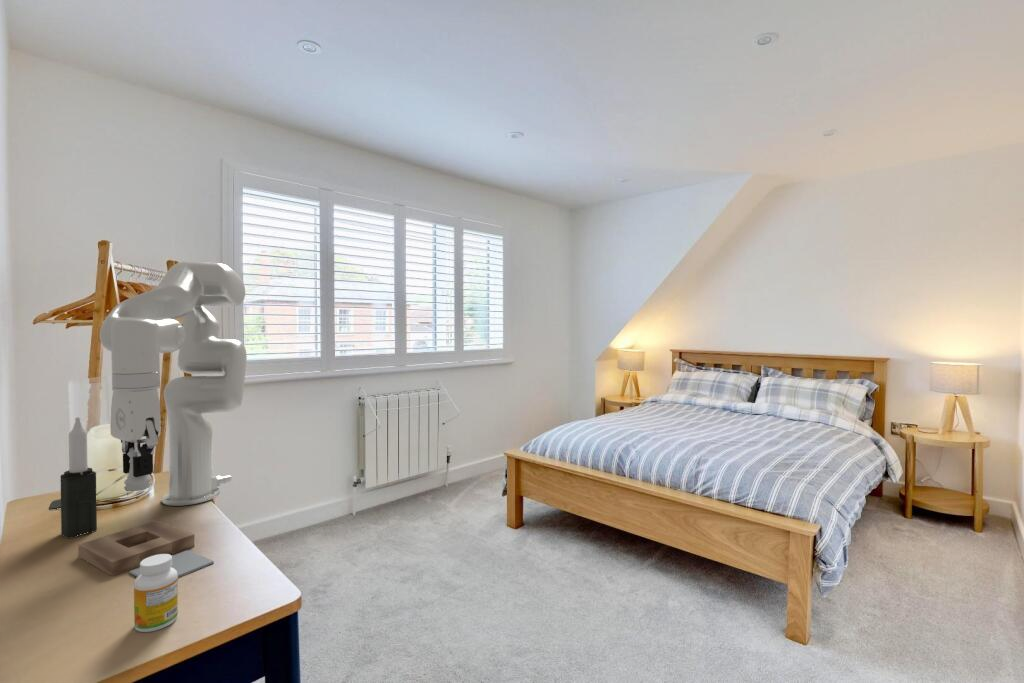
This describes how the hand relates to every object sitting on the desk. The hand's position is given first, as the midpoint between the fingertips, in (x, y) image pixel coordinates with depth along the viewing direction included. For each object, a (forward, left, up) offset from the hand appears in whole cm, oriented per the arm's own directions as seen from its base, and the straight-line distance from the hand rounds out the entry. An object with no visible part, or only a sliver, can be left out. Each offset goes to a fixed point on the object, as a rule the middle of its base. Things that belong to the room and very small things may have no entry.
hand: (138, 472), depth 99 cm
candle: (+2, -21, -16) cm, 26 cm away
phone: (-8, -43, -16) cm, 46 cm away
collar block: (0, 0, -16) cm, 16 cm away
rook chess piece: (0, 0, -3) cm, 3 cm away
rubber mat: (0, +13, -16) cm, 21 cm away
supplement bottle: (+10, +29, -16) cm, 35 cm away
